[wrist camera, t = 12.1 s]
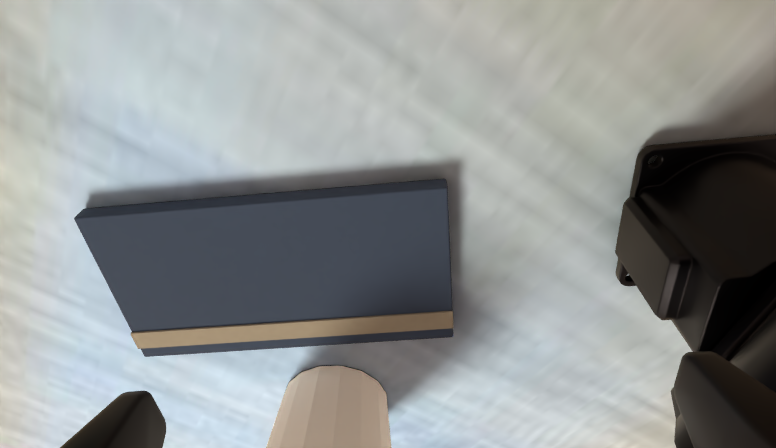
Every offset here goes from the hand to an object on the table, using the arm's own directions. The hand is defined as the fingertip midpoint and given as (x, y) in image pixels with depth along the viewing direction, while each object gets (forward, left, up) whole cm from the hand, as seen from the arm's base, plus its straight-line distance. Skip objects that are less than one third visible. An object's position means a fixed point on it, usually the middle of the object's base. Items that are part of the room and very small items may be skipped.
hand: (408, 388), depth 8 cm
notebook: (+6, +6, -12) cm, 15 cm away
